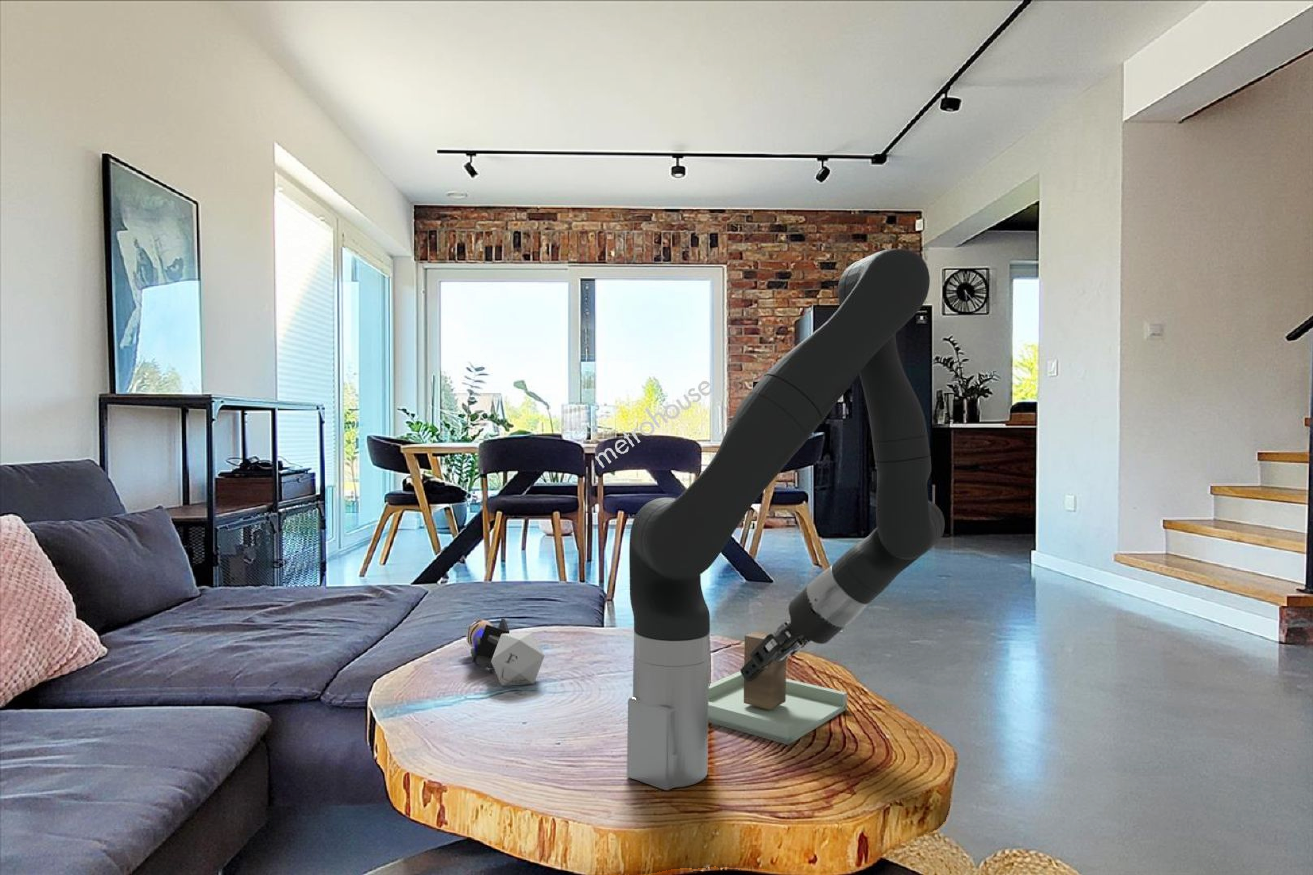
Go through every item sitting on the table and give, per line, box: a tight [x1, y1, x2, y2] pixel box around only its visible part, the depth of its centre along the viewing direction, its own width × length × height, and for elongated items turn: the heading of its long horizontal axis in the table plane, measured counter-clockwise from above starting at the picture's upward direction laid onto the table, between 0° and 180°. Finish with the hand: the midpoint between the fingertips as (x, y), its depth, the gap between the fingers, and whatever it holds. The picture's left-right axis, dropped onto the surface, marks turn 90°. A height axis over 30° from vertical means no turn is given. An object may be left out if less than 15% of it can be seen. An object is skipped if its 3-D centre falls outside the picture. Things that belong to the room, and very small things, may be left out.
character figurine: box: [465, 617, 511, 670], centre depth 145 cm, size 8×7×15 cm
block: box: [743, 629, 787, 710], centre depth 122 cm, size 4×4×10 cm
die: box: [491, 631, 545, 687], centre depth 134 cm, size 8×9×10 cm
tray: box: [708, 670, 848, 746], centre depth 122 cm, size 18×18×2 cm
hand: (753, 672), depth 123 cm, fingers closed on block, 4 cm apart
